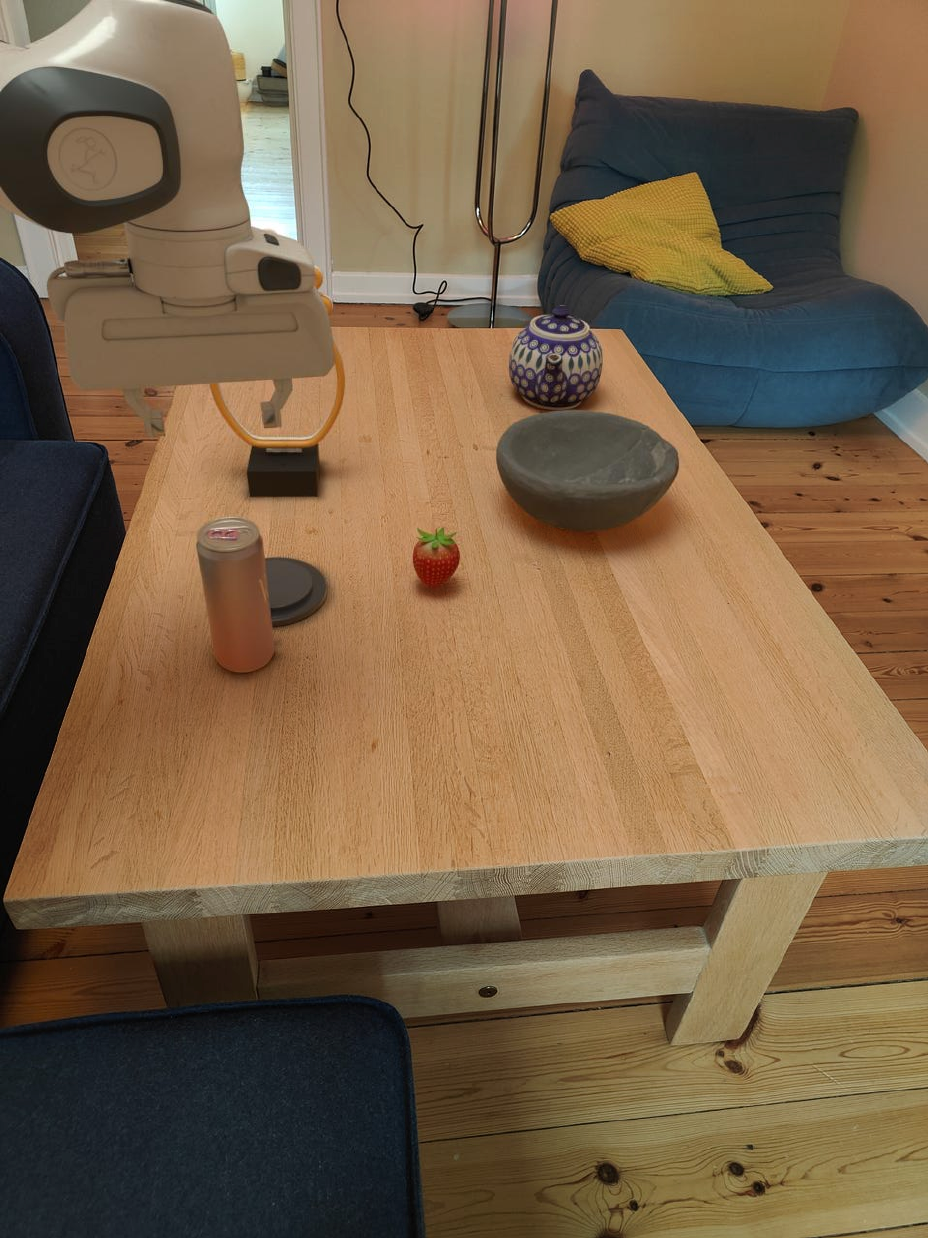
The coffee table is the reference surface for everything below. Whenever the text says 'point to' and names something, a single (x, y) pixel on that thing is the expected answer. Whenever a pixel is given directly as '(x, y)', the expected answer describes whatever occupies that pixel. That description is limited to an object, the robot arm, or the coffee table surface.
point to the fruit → (435, 558)
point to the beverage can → (236, 593)
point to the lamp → (286, 440)
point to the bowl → (585, 468)
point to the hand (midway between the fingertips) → (215, 429)
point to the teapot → (555, 361)
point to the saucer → (293, 589)
